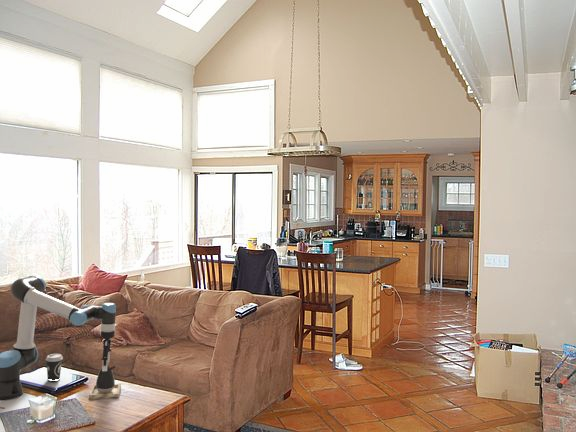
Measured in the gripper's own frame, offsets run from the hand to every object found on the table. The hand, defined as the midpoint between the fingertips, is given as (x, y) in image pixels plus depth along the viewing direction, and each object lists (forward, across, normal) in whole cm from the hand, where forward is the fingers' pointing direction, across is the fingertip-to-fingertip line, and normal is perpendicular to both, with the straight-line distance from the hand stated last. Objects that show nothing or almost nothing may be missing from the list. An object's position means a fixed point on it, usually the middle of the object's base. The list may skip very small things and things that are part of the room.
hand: (105, 367), depth 296 cm
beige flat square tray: (+15, 0, -1) cm, 15 cm away
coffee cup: (+16, +25, +31) cm, 43 cm away
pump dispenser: (+15, 0, 0) cm, 15 cm away
